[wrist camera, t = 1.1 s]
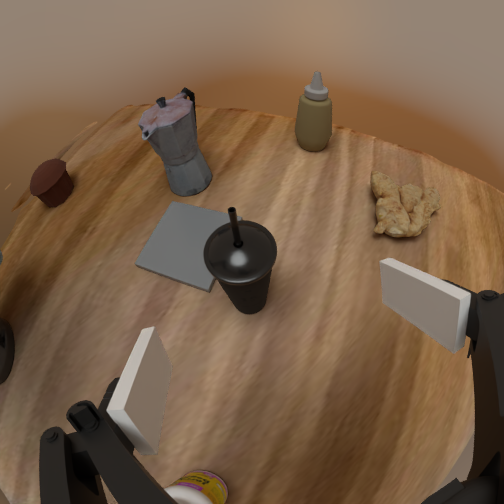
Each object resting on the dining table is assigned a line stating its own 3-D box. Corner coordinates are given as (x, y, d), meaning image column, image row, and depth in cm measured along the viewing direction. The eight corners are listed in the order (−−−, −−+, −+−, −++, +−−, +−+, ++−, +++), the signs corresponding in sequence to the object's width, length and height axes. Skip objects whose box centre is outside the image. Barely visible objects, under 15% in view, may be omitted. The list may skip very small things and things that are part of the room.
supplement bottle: (223, 467, 28) (199, 495, 17) (233, 506, 24) (215, 546, 13) (175, 470, 27) (134, 492, 16) (185, 508, 24) (150, 542, 13)
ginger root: (346, 225, 44) (362, 186, 38) (367, 186, 54) (379, 154, 48) (424, 268, 40) (449, 234, 34) (430, 220, 49) (446, 190, 43)
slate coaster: (136, 266, 44) (134, 263, 44) (173, 204, 51) (172, 201, 50) (209, 292, 41) (208, 290, 40) (242, 220, 48) (241, 217, 47)
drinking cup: (215, 287, 42) (178, 197, 24) (261, 267, 43) (254, 168, 26) (235, 332, 38) (203, 263, 21) (284, 309, 39) (294, 225, 22)
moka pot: (154, 204, 51) (115, 121, 34) (185, 154, 59) (163, 76, 42) (197, 211, 50) (167, 118, 32) (224, 157, 57) (210, 73, 40)
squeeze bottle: (308, 159, 55) (314, 83, 40) (287, 140, 59) (287, 69, 44) (336, 149, 57) (347, 77, 41) (315, 131, 61) (320, 64, 45)
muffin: (72, 172, 61) (56, 145, 53) (82, 189, 57) (63, 160, 48) (40, 199, 57) (22, 174, 49) (47, 220, 53) (25, 193, 44)
